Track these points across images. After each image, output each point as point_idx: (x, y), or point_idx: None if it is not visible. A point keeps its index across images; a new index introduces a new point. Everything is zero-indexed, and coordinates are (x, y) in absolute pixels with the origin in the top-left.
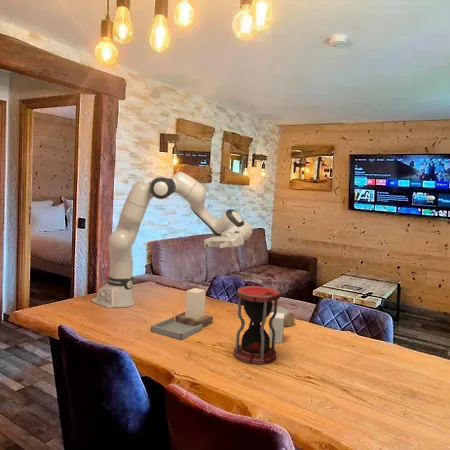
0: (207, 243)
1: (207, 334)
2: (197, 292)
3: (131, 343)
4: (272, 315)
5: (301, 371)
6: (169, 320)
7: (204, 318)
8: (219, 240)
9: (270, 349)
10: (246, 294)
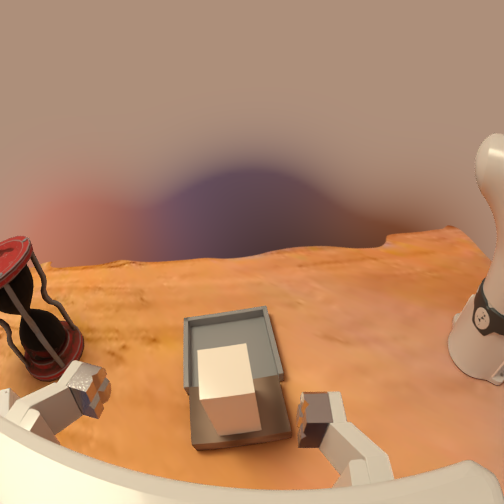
0: (350, 450)
1: (160, 380)
2: (202, 356)
3: (245, 271)
4: (6, 401)
5: (4, 344)
6: (274, 358)
7: (201, 416)
8: (122, 468)
9: (31, 365)
10: (17, 236)
